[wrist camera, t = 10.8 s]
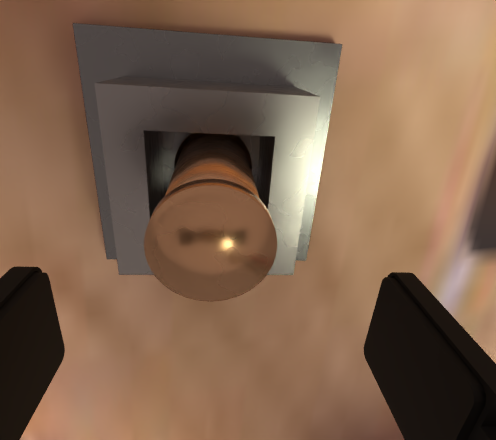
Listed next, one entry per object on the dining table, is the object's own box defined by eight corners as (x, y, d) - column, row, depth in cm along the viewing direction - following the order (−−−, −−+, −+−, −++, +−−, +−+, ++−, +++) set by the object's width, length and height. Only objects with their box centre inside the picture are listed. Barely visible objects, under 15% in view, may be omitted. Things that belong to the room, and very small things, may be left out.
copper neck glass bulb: (253, 128, 20) (284, 188, 11) (248, 199, 22) (271, 300, 13) (174, 124, 19) (138, 184, 10) (176, 198, 21) (148, 301, 12)
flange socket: (336, 44, 19) (383, 40, 14) (302, 253, 25) (326, 306, 20) (80, 24, 18) (20, 11, 12) (110, 251, 24) (80, 309, 18)
